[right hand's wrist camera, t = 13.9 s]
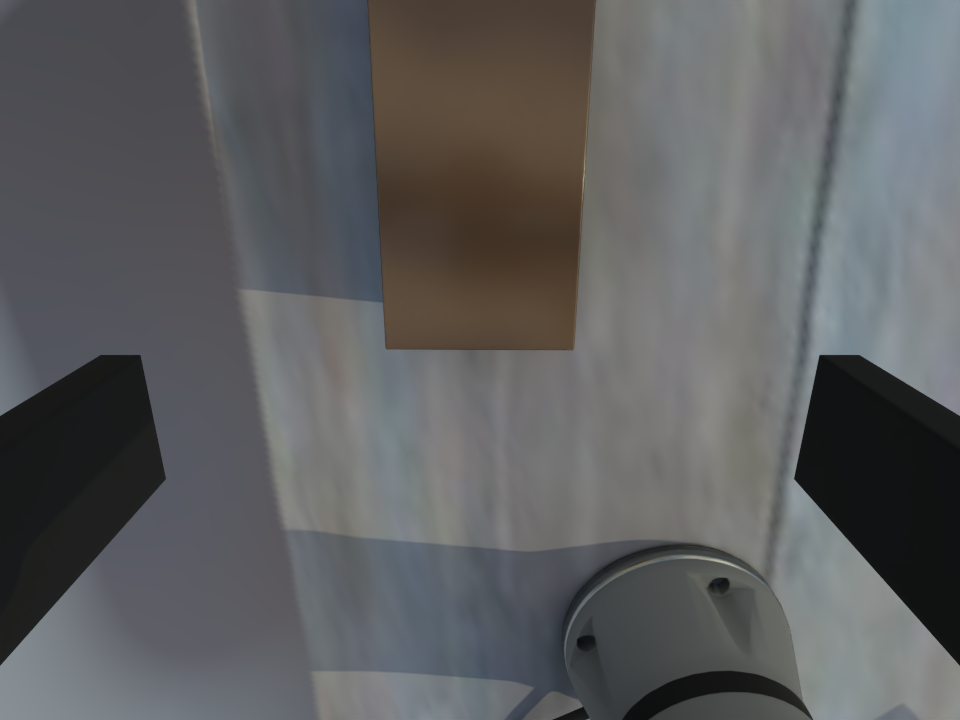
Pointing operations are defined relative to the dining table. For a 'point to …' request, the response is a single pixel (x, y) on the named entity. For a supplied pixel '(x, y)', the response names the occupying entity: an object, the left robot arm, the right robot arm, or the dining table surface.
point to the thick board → (480, 169)
